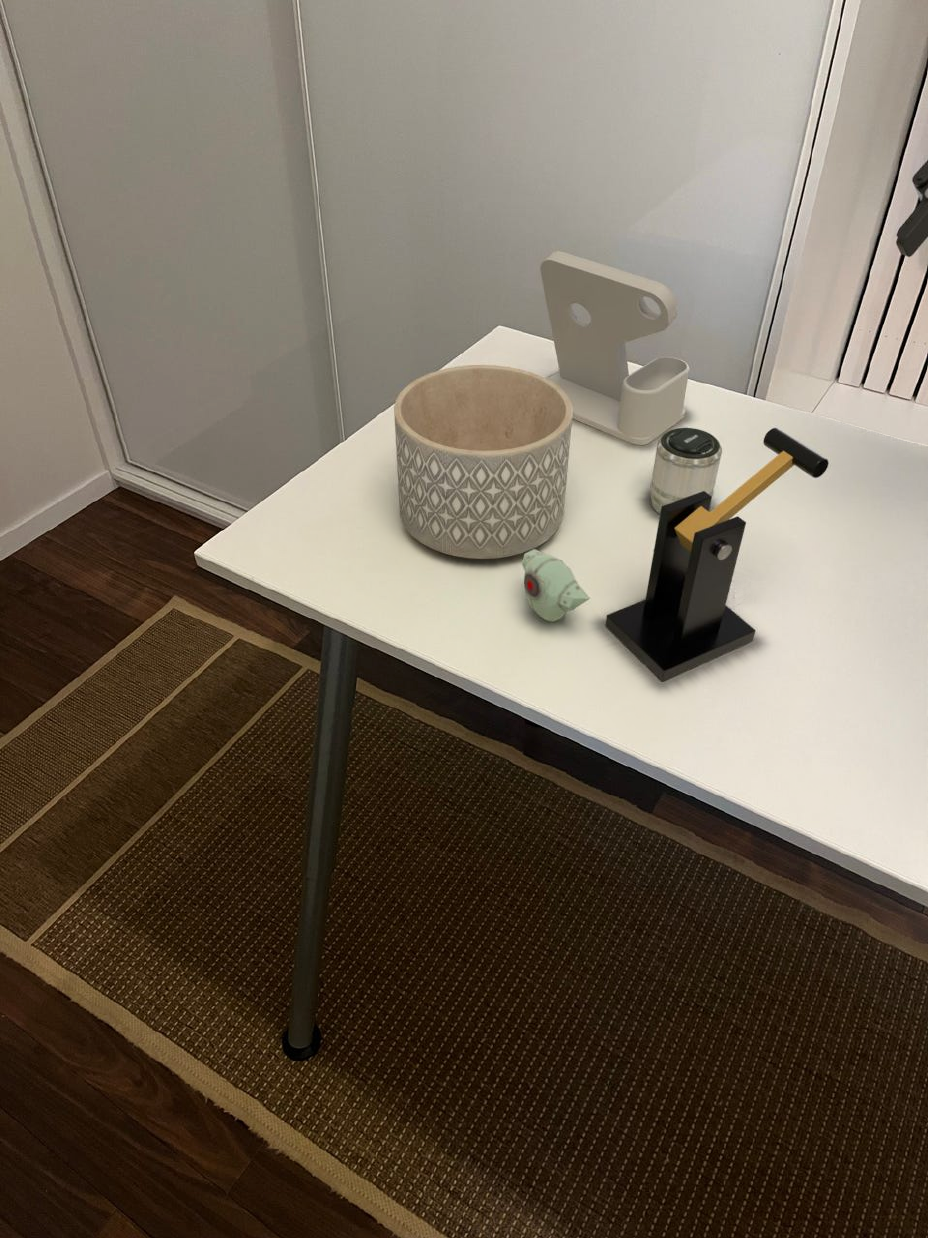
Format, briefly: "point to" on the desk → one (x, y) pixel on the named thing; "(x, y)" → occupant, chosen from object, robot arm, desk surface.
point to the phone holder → (612, 348)
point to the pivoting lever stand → (685, 596)
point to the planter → (482, 459)
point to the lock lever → (755, 483)
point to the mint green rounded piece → (550, 586)
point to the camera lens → (684, 465)
